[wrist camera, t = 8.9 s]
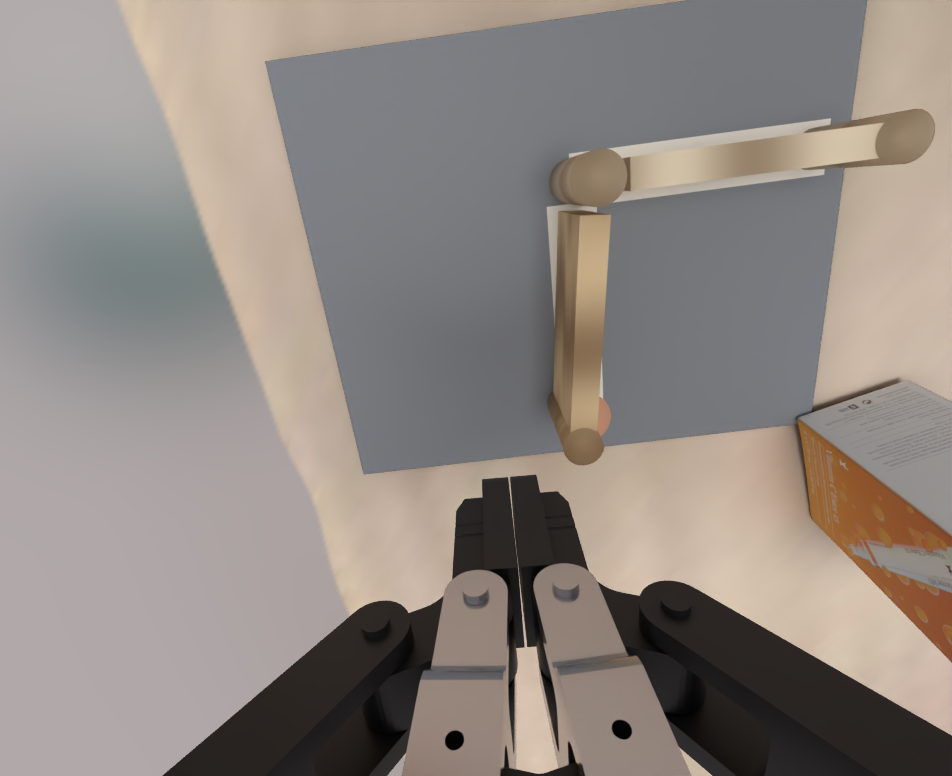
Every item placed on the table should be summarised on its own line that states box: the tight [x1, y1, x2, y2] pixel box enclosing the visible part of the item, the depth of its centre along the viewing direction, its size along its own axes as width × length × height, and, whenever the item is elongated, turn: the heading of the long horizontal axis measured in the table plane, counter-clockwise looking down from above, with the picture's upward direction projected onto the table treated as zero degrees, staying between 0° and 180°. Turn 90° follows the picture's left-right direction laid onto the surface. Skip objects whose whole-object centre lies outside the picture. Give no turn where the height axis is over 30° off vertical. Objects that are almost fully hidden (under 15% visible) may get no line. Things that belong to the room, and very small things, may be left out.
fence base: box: [549, 109, 935, 207], centre depth 21 cm, size 13×2×6 cm, turn 97°
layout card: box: [265, 0, 867, 474], centre depth 25 cm, size 26×21×1 cm
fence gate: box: [547, 210, 611, 465], centre depth 23 cm, size 11×2×5 cm, turn 2°
